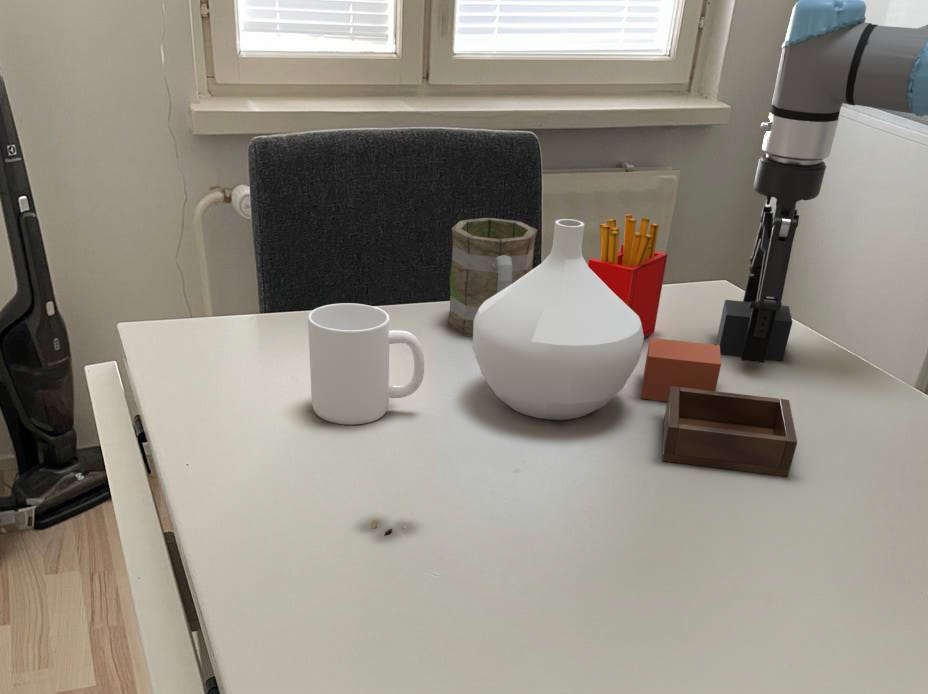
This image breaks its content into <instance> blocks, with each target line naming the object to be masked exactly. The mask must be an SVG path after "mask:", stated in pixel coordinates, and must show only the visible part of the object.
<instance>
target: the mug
mask: <svg viewBox="0 0 928 694" xmlns="http://www.w3.org/2000/svg"><path fill="white" fill-rule="evenodd" d="M537 234H538V229H536V228H535V227H532V226H530V225H528V224H526V223H524V222H522V221H521V220H520V221H519V220H513V219H512V220H511V219H504V218H503V219H502V218H496V217H480V218H471V219H462V220H459V221H458V222H457V223H456V224H455V225H454V226H453V227H452V228H451V241H452V249H451V250H452V251H451V265H450V271H449V295H450V296H449V312H448V318H447V323H446V324H447V326H448V327H450V328H452V330H455V331H456V332H458V333H459V334H460V335H462V336H466V337H472V338H473V323H474V318H475V316H476V314H477V312H478V309H479V307H480V306H481V305H482V304H483V303H484V301H486V300H488V299H489V298H491V297H492V296H494V295H495V294H497V293H499V292H500V291H502V290H503V289H505V288H506V287H508V286H509V285H511V284H513V283H514V282H516V281H517V280H518V279H520V278H521V277H523V276H524V275H526V274H527V273H528V272H530V271H531V270H533V269H534V268H533V266H534V263H533V262H534V250H535V243H536V238H537Z"/></svg>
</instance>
